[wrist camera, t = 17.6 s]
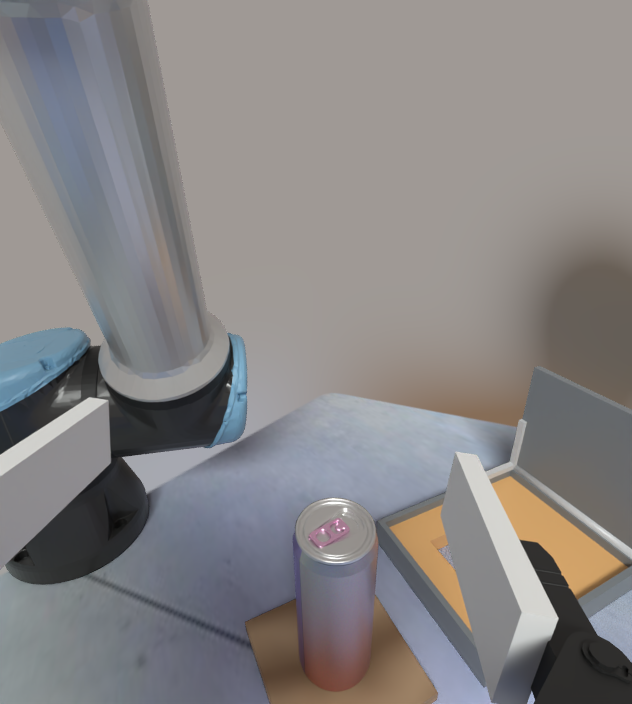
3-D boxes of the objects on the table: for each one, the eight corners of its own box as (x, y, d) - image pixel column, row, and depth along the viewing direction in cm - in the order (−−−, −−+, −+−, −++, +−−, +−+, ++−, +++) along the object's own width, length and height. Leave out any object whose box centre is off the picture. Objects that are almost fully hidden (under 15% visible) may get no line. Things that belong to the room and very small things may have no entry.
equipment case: (375, 539, 47) (384, 412, 40) (511, 481, 55) (539, 365, 48) (483, 687, 34) (525, 538, 27) (641, 582, 42) (706, 445, 35)
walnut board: (245, 628, 39) (245, 621, 38) (359, 576, 43) (359, 569, 43) (297, 789, 29) (297, 782, 29) (436, 699, 34) (438, 693, 33)
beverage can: (286, 646, 36) (276, 518, 30) (341, 607, 39) (343, 484, 33) (326, 714, 32) (324, 582, 26) (385, 665, 35) (397, 536, 28)
